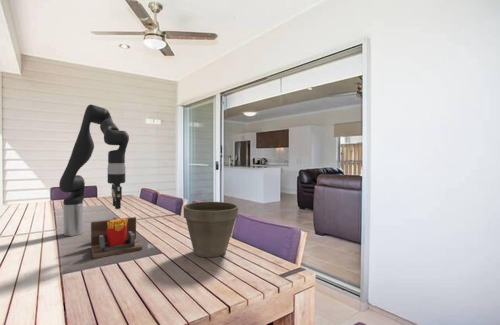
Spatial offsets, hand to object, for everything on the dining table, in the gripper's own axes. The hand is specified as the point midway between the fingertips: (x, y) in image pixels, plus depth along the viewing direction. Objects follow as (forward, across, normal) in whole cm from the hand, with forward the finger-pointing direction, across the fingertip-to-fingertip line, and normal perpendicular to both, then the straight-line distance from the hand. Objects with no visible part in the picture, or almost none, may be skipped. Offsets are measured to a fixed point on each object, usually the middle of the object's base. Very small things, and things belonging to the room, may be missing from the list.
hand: (116, 207), depth 127 cm
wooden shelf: (+20, +2, 0) cm, 20 cm away
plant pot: (+20, -26, -36) cm, 49 cm away
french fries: (+19, 0, 0) cm, 19 cm away
